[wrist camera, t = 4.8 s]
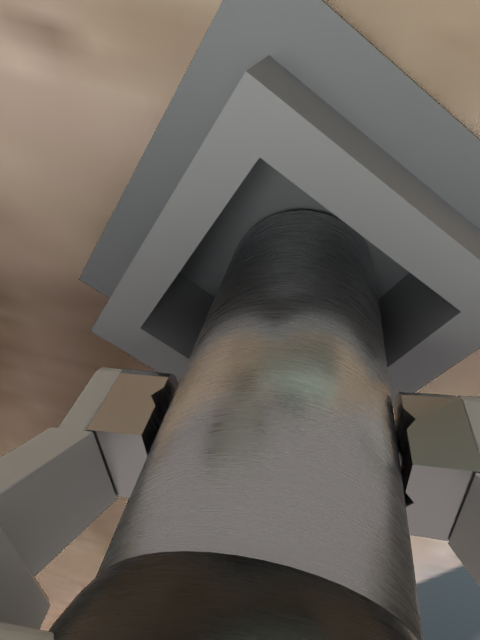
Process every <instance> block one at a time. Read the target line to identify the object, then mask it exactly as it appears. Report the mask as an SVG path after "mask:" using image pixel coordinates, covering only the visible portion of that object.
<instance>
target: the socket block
mask: <svg viewBox="0 0 480 640" xmlns="http://www.w3.org/2000/svg"><path fill="white" fill-rule="evenodd" d="M295 210H307V211H315V212H321V213H324V214H327V215H330V216H333V217H335V218H337V219H339V220H341V221H342V222H344V223H346V224H347V225H349V226H350V227H351V228H352V229H353V230H354V231H356V232H357V233H358V235H359V236H360V237H361V238H362V239H363V241H364V242H365V244H366V245H367V247H368V249H369V251H370V254H371V256H372V260H373V263H374V271H375V278H376V286H377V294H378V301H379V309H380V316H381V324H382V331H383V339H384V346H385V354H386V361H387V369H388V376H389V384H390V391H391V399H392V407H394V403H395V399H396V396H397V393H398V392H411V393H414V392H416V391H417V390H419V389H420V388H422V387H423V386H425V385H426V384H428V383H429V382H430V381H432V380H433V379H435V378H436V377H438V376H439V375H441V374H442V373H444V372H445V371H447V370H448V369H450V368H451V367H452V366H454V365H455V364H457V363H458V362H460V361H461V360H463V359H464V358H466V357H467V356H469V355H470V354H472V353H473V352H475V351H476V350H477V349H479V348H480V139H479V138H478V137H476V136H475V135H474V134H473V133H472V132H471V131H470V130H469V129H467V128H466V127H465V126H464V125H463V124H462V123H461V122H459V121H458V120H457V119H456V118H455V117H454V116H453V115H452V114H450V113H449V112H448V111H447V110H446V109H445V108H444V107H443V106H441V105H440V104H439V103H438V102H437V101H436V100H435V99H434V98H432V97H431V96H430V95H429V94H428V93H427V92H426V91H425V90H423V89H422V88H421V87H420V86H419V85H418V84H417V83H415V82H414V81H413V80H412V79H411V78H410V77H409V76H408V75H406V74H405V73H404V72H403V71H402V70H401V69H400V68H399V67H397V66H396V65H395V64H394V63H393V62H392V61H391V60H390V59H388V58H387V57H386V56H385V55H384V54H383V53H382V52H380V51H379V50H378V49H377V48H376V47H375V46H374V45H373V44H371V43H370V42H369V41H368V40H367V39H366V38H365V37H364V36H362V35H361V34H360V33H359V32H358V31H357V30H356V29H355V28H353V27H352V26H351V25H350V24H349V23H348V22H347V21H346V20H344V19H343V18H342V17H341V16H340V15H339V14H338V13H336V12H335V11H334V10H333V9H332V8H331V7H330V6H329V5H327V4H326V3H325V2H324V1H323V0H223V1H222V3H221V5H220V7H219V9H218V11H217V13H216V15H215V17H214V19H213V21H212V23H211V25H210V26H209V28H208V30H207V32H206V34H205V36H204V38H203V40H202V42H201V44H200V46H199V48H198V50H197V52H196V54H195V55H194V57H193V59H192V61H191V63H190V65H189V67H188V69H187V71H186V73H185V75H184V77H183V79H182V81H181V83H180V84H179V86H178V88H177V90H176V92H175V94H174V96H173V98H172V100H171V102H170V104H169V106H168V108H167V110H166V112H165V114H164V115H163V117H162V119H161V121H160V123H159V125H158V127H157V129H156V131H155V133H154V135H153V137H152V139H151V141H150V143H149V144H148V146H147V148H146V150H145V152H144V154H143V156H142V158H141V160H140V162H139V164H138V166H137V168H136V170H135V172H134V173H133V175H132V177H131V179H130V181H129V183H128V185H127V187H126V189H125V191H124V193H123V195H122V197H121V199H120V201H119V202H118V204H117V206H116V208H115V210H114V212H113V214H112V216H111V218H110V220H109V222H108V224H107V226H106V228H105V230H104V232H103V233H102V235H101V237H100V239H99V241H98V243H97V245H96V247H95V249H94V251H93V253H92V255H91V257H90V259H89V261H88V262H87V264H86V266H85V268H84V270H83V272H82V274H81V276H80V278H79V280H81V281H82V282H84V283H85V284H87V285H89V286H90V287H92V288H93V289H95V290H97V291H98V292H100V293H101V294H103V295H104V296H106V297H108V298H109V301H108V302H107V304H106V306H105V307H104V309H103V311H102V312H101V314H100V316H99V317H98V319H97V321H96V322H95V324H94V326H93V327H92V329H91V331H92V332H93V333H95V334H96V335H98V336H100V337H101V338H103V339H105V340H106V341H108V342H109V343H111V344H113V345H114V346H116V347H118V348H119V349H121V350H123V351H124V352H126V353H127V354H129V355H131V356H132V357H134V358H136V359H137V360H139V361H141V362H142V363H144V364H145V365H147V366H149V367H150V368H152V369H154V370H155V371H157V372H160V373H169V374H174V375H175V376H177V381H178V383H179V381H180V378H181V376H182V374H183V371H184V369H185V367H186V364H187V362H188V360H189V357H190V355H191V353H192V350H193V348H194V346H195V343H196V341H197V339H198V336H199V334H200V331H201V329H202V327H203V324H204V322H205V320H206V317H207V315H208V313H209V310H210V308H211V306H212V303H213V301H214V299H215V296H216V294H217V292H218V289H219V287H220V284H221V282H222V280H223V277H224V275H225V273H226V270H227V268H228V266H229V263H230V261H231V259H232V256H233V254H234V252H235V249H236V247H237V245H238V243H239V242H240V240H241V239H242V237H243V236H244V235H245V234H246V233H247V232H248V231H249V230H250V229H251V228H252V227H253V226H254V225H256V224H257V223H259V222H260V221H262V220H264V219H266V218H268V217H270V216H272V215H275V214H278V213H282V212H287V211H295Z"/></svg>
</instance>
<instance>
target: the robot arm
mask: <svg viewBox="0 0 480 640" xmlns="http://www.w3.org/2000/svg"><path fill="white" fill-rule="evenodd" d="M177 385H178V381H177V376H175V375H174V374H169V373H160V372H150V371H141V370H131V369H116V368H107V367H102V368H100V369H98V370H97V371H96V372H95V373H94V375H93V376H92V378H91V379H90V381H89V382H88V384H87V385H86V387H85V388H84V390H83V391H82V393H81V394H80V395H79V397H78V398H77V400H76V401H75V403H74V404H73V406H72V407H71V409H70V410H69V412H68V413H67V415H66V416H65V418H64V419H63V421H62V422H61V424H60V425H59V427H58V428H55V427H50V428H48V429H47V430H45V431H43V432H42V433H40V434H38V435H37V436H35V437H33V438H32V439H30V440H28V441H27V442H25V443H23V444H22V445H20V446H18V447H17V448H15V449H13V450H12V451H10V452H8V453H7V454H5V455H3V456H2V457H0V640H54V638H53V637H54V634H53V632H49V631H44V630H39V629H40V627H41V624H42V622H43V620H44V618H45V616H46V614H47V612H48V609H49V607H50V603H49V599H48V596H47V595H46V593H45V592H44V590H43V589H42V587H41V586H40V584H39V583H38V581H37V580H36V578H35V577H34V576H36V575H37V574H38V573H39V572H40V571H41V570H42V569H43V568H44V567H45V566H46V565H47V564H48V563H49V562H50V561H52V560H53V559H54V558H55V557H56V556H57V555H58V554H59V553H60V552H61V551H62V550H63V549H64V548H65V547H66V546H67V545H69V544H70V543H71V542H72V541H73V540H74V539H75V538H76V537H77V536H78V535H79V534H80V533H81V532H82V531H83V530H85V529H86V528H87V527H88V526H89V525H90V524H91V523H92V522H93V521H94V520H95V519H96V518H97V517H98V516H99V515H100V514H102V513H103V512H104V511H105V510H106V509H107V508H108V507H109V506H110V505H111V504H112V503H113V502H114V501H115V500H116V499H117V497H116V496H119V497H128V498H130V496H131V494H132V491H133V489H134V486H135V484H136V482H137V479H138V477H139V475H140V472H141V470H142V468H143V465H144V463H145V461H146V458H147V456H148V454H149V451H150V449H151V447H152V444H153V442H154V440H155V437H156V435H157V432H158V430H159V428H160V425H161V423H162V421H163V418H164V416H165V414H166V411H167V409H168V407H169V404H170V402H171V400H172V397H173V395H174V393H175V390H176V388H177ZM394 413H395V421H394V422H395V429H396V437H397V444H398V452H399V459H400V467H401V474H402V482H403V489H404V497H405V505H406V512H407V520H408V527H409V535H414V536H420V537H426V538H432V539H439V540H445V541H449V542H448V544H449V546H450V547H451V548H452V550H453V551H454V553H455V554H456V555H457V557H458V558H459V559H460V561H461V562H462V564H463V565H464V566H465V568H466V569H467V570H468V572H469V573H470V575H471V576H472V578H473V579H474V580H475V582H477V584H478V586H479V587H480V397H472V396H458V397H457V396H453V395H439V394H425V393H411V392H398V393H397V396H396V399H395V403H394Z"/></svg>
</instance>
